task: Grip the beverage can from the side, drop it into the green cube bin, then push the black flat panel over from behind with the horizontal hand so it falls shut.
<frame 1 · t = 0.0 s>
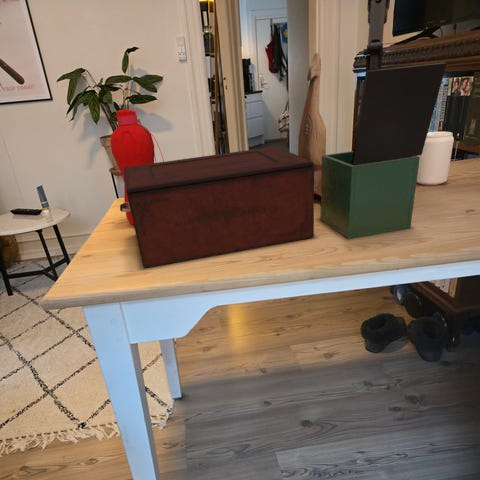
hand: (372, 92, 84), 24 cm above the table, tool pointing down, fingers open, 13 cm apart
wineglass: (371, 184, 114), on the table
black flat panel: (396, 116, 69), point 21 cm above the table, hinge at 103.0°
water bottle: (152, 221, 103), on the table
green cube bin: (363, 223, 87), on the table
beverage can: (429, 183, 110), on the table
storage box: (219, 235, 89), on the table
bird sculpture: (311, 197, 108), on the table
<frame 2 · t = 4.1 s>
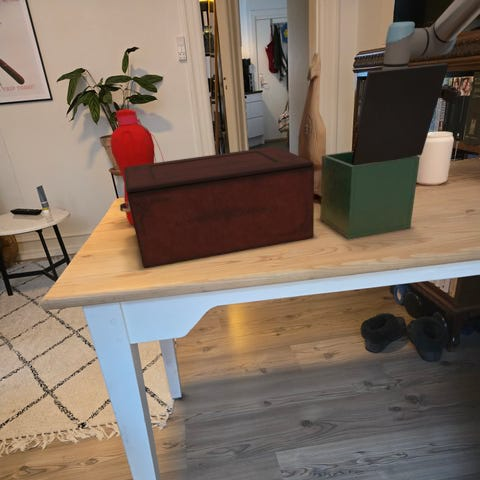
hand: (428, 100, 106), 19 cm above the table, tool horizontal, fingers open, 13 cm apart
black flat panel: (396, 116, 69), point 21 cm above the table, hinge at 105.1°
everything else where it was.
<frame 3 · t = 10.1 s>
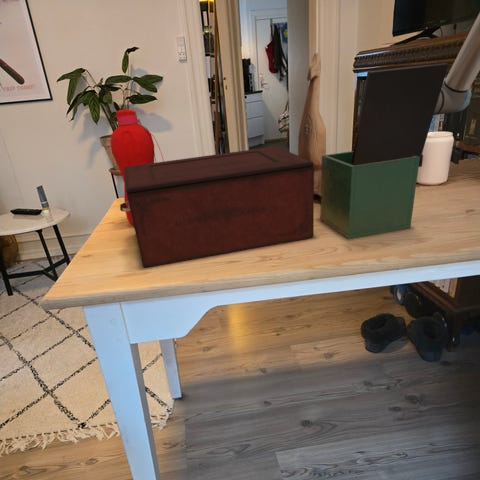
hand: (439, 159, 103), 7 cm above the table, tool horizontal, fingers closed on beverage can, 8 cm apart
beverage can: (429, 183, 110), on the table, touching gripper
everything else where it was.
when the fingers open (15 cm above the table, at t = 19.8 s): beverage can drops 8 cm, resting on green cube bin.
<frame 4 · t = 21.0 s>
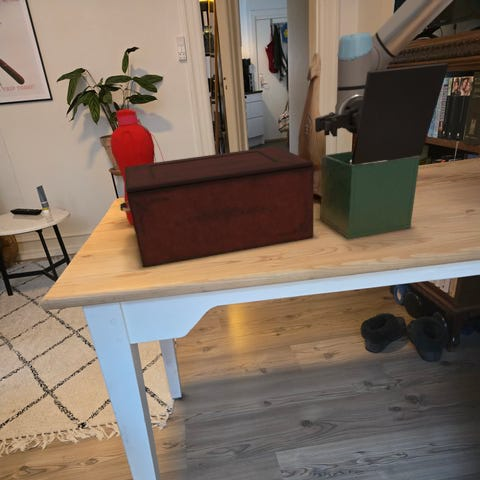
hand: (372, 125, 75), 19 cm above the table, tool horizontal, fingers open, 13 cm apart
beverage can: (364, 220, 87), point 1 cm above the table, touching green cube bin
everything else where it was.
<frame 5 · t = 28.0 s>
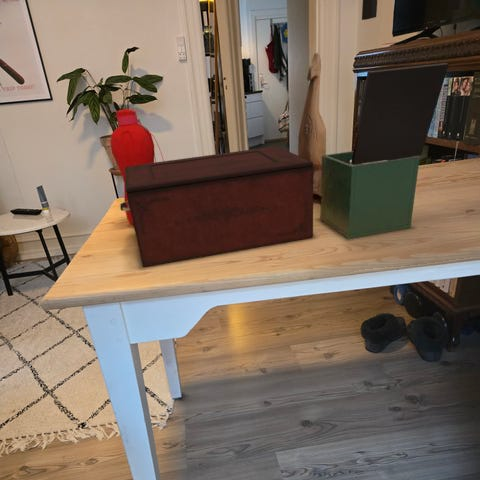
hand: (412, 15, 58), 35 cm above the table, tool pointing down, fingers open, 13 cm apart
nothing on the table moved.
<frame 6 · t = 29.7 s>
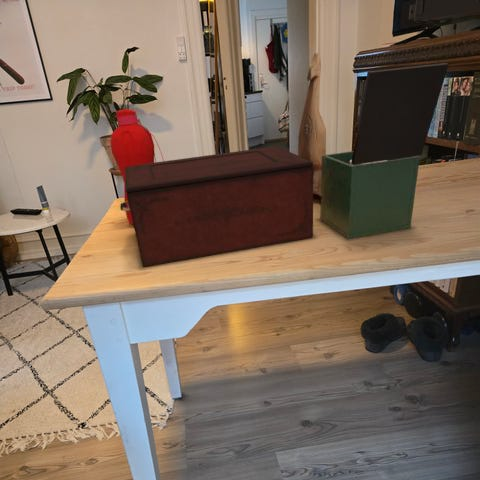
hand: (447, 11, 54), 34 cm above the table, tool horizontal, fingers open, 12 cm apart
nothing on the table moved.
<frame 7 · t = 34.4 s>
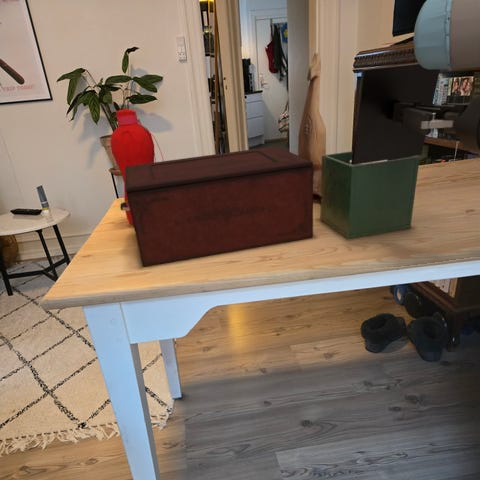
hand: (397, 111, 69), 22 cm above the table, tool horizontal, fingers closed
black flat panel: (394, 115, 70), point 21 cm above the table, hinge at 97.6°, touching gripper
everything else where it was.
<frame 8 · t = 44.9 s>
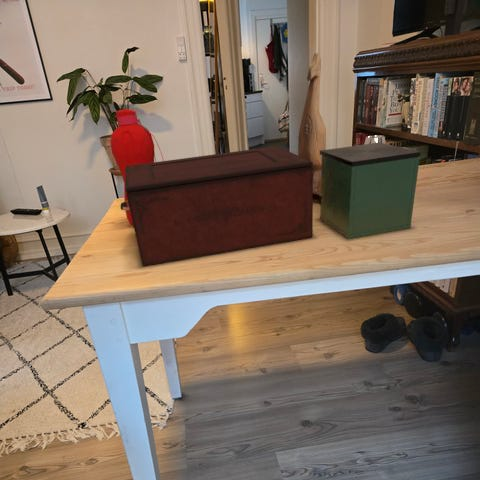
hand: (451, 34, 81), 32 cm above the table, tool pointing down, fingers closed
black flat panel: (366, 153, 80), point 14 cm above the table, hinge at -0.1°
everything else where it was.
at the end: beverage can inside the target area in the green cube bin (0.2 cm from its centre), point 0.6 cm above the green cube bin's base; black flat panel at +0° (first picture: +103°) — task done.
